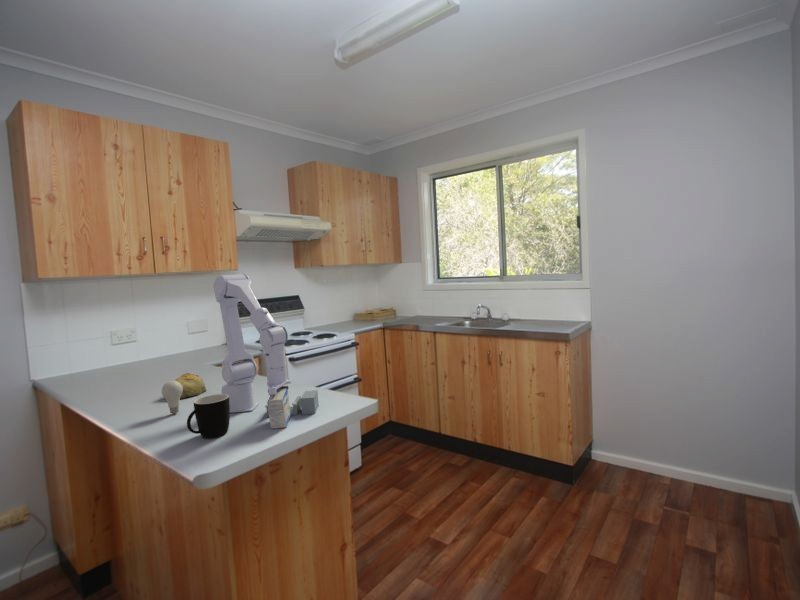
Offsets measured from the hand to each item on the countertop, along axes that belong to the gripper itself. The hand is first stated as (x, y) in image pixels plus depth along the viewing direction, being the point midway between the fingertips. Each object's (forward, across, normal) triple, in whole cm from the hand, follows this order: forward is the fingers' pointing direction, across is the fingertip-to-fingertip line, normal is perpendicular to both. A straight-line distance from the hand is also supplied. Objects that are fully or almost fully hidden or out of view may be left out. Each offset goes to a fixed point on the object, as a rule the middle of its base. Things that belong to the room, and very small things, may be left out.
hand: (280, 411), depth 127 cm
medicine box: (+2, -4, -1) cm, 5 cm away
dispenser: (+2, +6, -3) cm, 7 cm away
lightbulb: (+2, +13, +37) cm, 39 cm away
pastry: (+2, +37, +44) cm, 57 cm away
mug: (+2, -10, +17) cm, 20 cm away
